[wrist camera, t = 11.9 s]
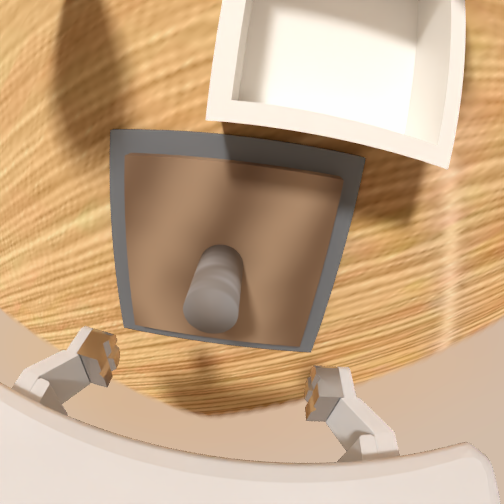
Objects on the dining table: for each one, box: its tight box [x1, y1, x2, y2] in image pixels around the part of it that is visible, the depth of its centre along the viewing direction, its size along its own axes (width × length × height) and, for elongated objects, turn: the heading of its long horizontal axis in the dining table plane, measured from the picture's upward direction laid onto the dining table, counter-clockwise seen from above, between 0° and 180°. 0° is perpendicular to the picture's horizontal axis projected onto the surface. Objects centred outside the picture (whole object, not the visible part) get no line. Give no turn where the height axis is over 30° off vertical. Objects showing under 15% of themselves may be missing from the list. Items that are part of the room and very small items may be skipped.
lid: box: [124, 153, 344, 347], centre depth 17 cm, size 13×13×6 cm
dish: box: [206, 0, 466, 169], centre depth 12 cm, size 12×12×5 cm
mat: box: [110, 129, 366, 352], centre depth 20 cm, size 16×16×1 cm
